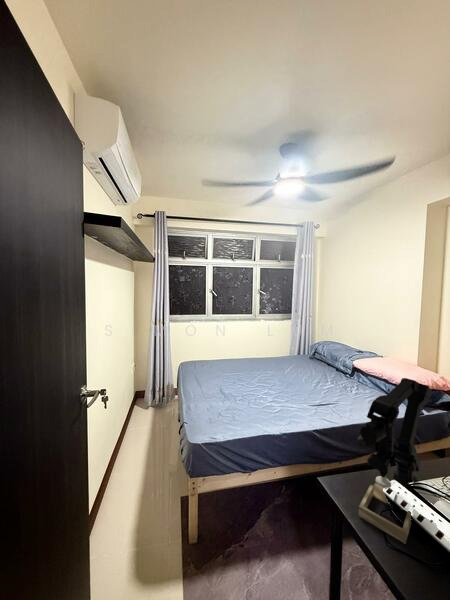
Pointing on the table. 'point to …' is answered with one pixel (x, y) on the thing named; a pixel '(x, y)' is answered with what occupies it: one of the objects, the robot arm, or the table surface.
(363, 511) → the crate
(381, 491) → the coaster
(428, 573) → the table surface
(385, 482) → the chess piece
